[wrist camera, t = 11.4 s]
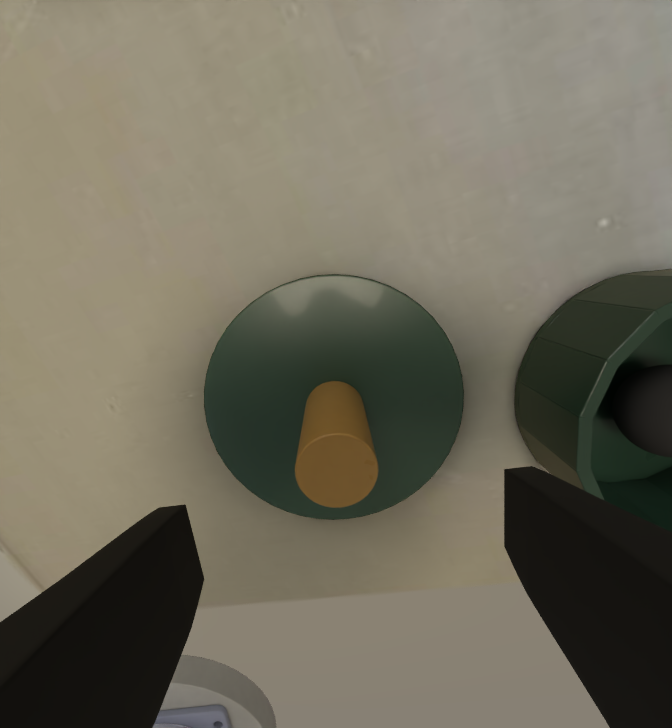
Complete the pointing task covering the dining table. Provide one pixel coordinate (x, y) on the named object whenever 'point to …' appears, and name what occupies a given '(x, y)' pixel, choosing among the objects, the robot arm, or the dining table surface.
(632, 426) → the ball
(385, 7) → the dining table surface
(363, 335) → the lid
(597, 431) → the tin
